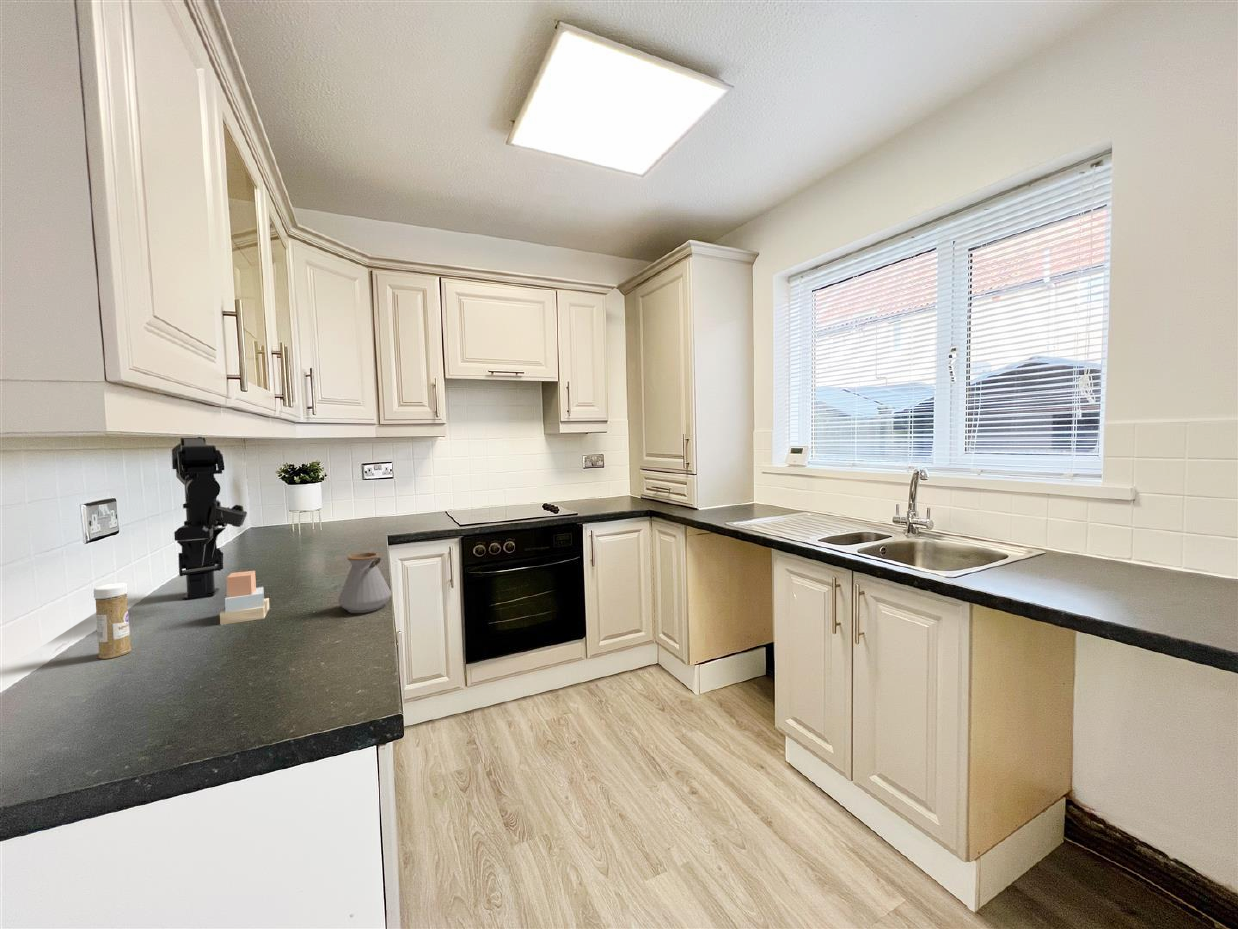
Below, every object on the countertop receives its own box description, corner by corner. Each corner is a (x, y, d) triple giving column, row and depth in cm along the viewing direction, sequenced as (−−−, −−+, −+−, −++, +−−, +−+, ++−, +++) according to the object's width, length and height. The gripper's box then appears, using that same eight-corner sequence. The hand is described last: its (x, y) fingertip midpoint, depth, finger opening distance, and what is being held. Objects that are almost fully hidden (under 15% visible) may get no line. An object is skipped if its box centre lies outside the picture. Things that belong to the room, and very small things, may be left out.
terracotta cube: (232, 592, 117) (231, 573, 117) (256, 589, 119) (255, 570, 119) (227, 597, 113) (226, 577, 113) (251, 594, 115) (250, 575, 115)
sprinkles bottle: (131, 654, 96) (127, 585, 96) (97, 662, 93) (92, 590, 92) (131, 647, 100) (127, 580, 99) (98, 654, 96) (94, 585, 96)
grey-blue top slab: (227, 604, 118) (226, 592, 117) (263, 599, 122) (263, 586, 122) (225, 612, 112) (224, 599, 112) (263, 606, 116) (263, 593, 116)
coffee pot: (334, 607, 123) (332, 546, 122) (384, 597, 130) (382, 540, 129) (352, 632, 106) (350, 562, 105) (409, 620, 113) (407, 554, 112)
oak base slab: (228, 615, 119) (228, 603, 119) (269, 610, 122) (268, 598, 122) (220, 626, 112) (219, 613, 112) (263, 620, 115) (263, 607, 115)
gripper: (234, 500, 115) (238, 567, 116) (249, 492, 132) (252, 550, 133) (171, 503, 110) (175, 573, 111) (195, 494, 126) (198, 555, 127)
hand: (204, 562), depth 121 cm, fingers open, 9 cm apart
